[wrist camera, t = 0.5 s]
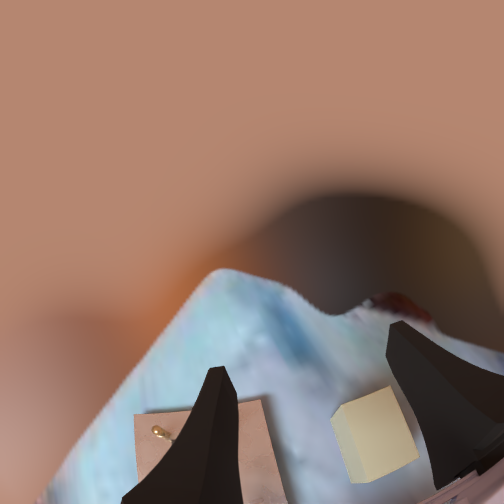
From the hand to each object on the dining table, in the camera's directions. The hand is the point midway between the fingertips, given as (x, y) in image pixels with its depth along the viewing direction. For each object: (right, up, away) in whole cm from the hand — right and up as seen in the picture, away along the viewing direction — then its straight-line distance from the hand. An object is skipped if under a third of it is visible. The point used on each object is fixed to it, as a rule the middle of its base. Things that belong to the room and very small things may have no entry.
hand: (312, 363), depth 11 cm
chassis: (-7, -18, +9) cm, 21 cm away
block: (+9, -15, +10) cm, 20 cm away
